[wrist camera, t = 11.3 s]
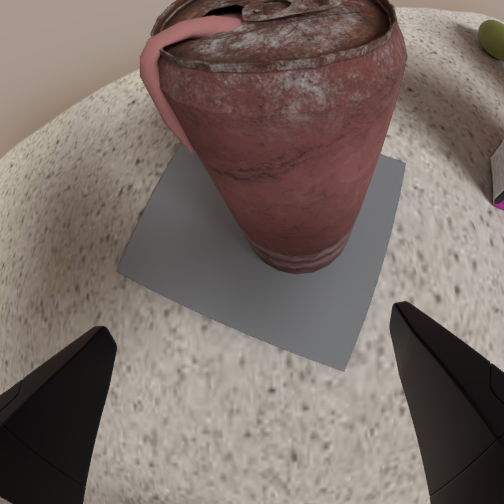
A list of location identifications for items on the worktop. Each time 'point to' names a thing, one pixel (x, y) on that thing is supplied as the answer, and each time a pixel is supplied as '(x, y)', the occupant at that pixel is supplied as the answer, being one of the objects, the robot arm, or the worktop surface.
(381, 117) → the can
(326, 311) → the slate mat
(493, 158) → the candy bar box
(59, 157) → the worktop surface
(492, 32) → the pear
